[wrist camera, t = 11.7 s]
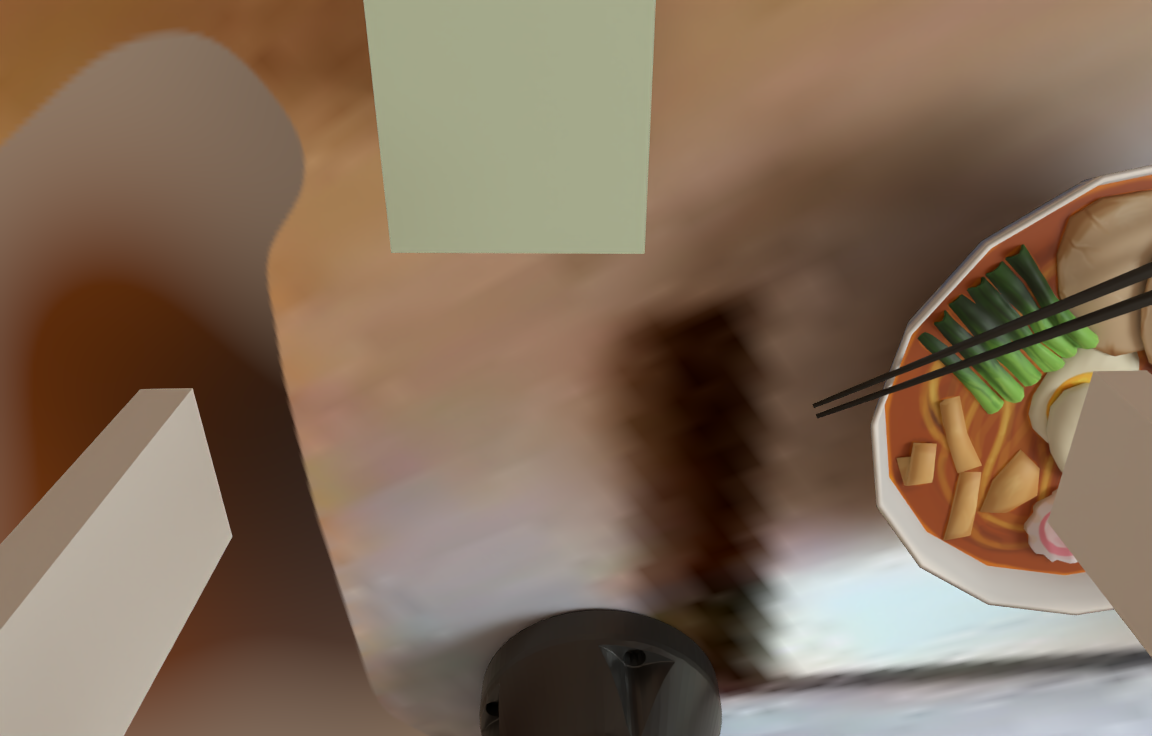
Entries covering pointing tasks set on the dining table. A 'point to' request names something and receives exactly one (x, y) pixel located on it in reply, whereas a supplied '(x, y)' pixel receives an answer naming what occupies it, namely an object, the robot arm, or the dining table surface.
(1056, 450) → the ramen bowl
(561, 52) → the sage block
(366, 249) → the dining table surface
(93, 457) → the robot arm
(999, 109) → the dining table surface
